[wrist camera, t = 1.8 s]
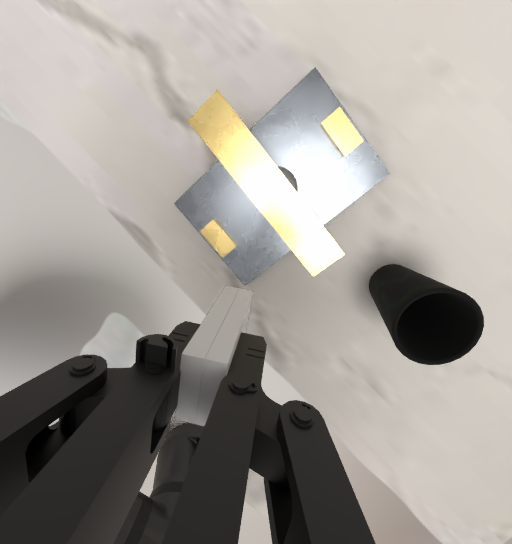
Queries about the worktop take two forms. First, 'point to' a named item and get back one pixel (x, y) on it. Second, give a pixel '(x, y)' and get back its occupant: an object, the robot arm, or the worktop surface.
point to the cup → (426, 315)
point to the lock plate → (298, 171)
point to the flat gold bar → (264, 183)
